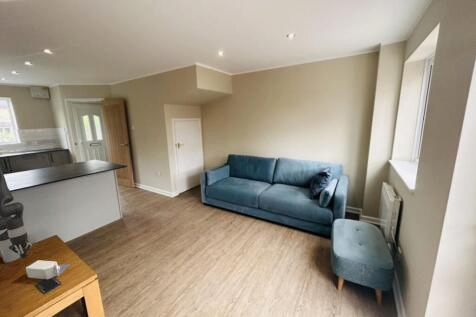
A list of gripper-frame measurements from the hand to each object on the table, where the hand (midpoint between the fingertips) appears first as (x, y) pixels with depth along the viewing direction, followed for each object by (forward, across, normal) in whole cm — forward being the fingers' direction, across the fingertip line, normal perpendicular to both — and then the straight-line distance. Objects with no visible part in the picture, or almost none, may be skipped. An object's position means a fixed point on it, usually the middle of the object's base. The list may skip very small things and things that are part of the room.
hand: (24, 257), depth 127 cm
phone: (+12, +22, -13) cm, 28 cm away
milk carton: (+8, +5, -2) cm, 9 cm away
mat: (+11, +15, -1) cm, 19 cm away
